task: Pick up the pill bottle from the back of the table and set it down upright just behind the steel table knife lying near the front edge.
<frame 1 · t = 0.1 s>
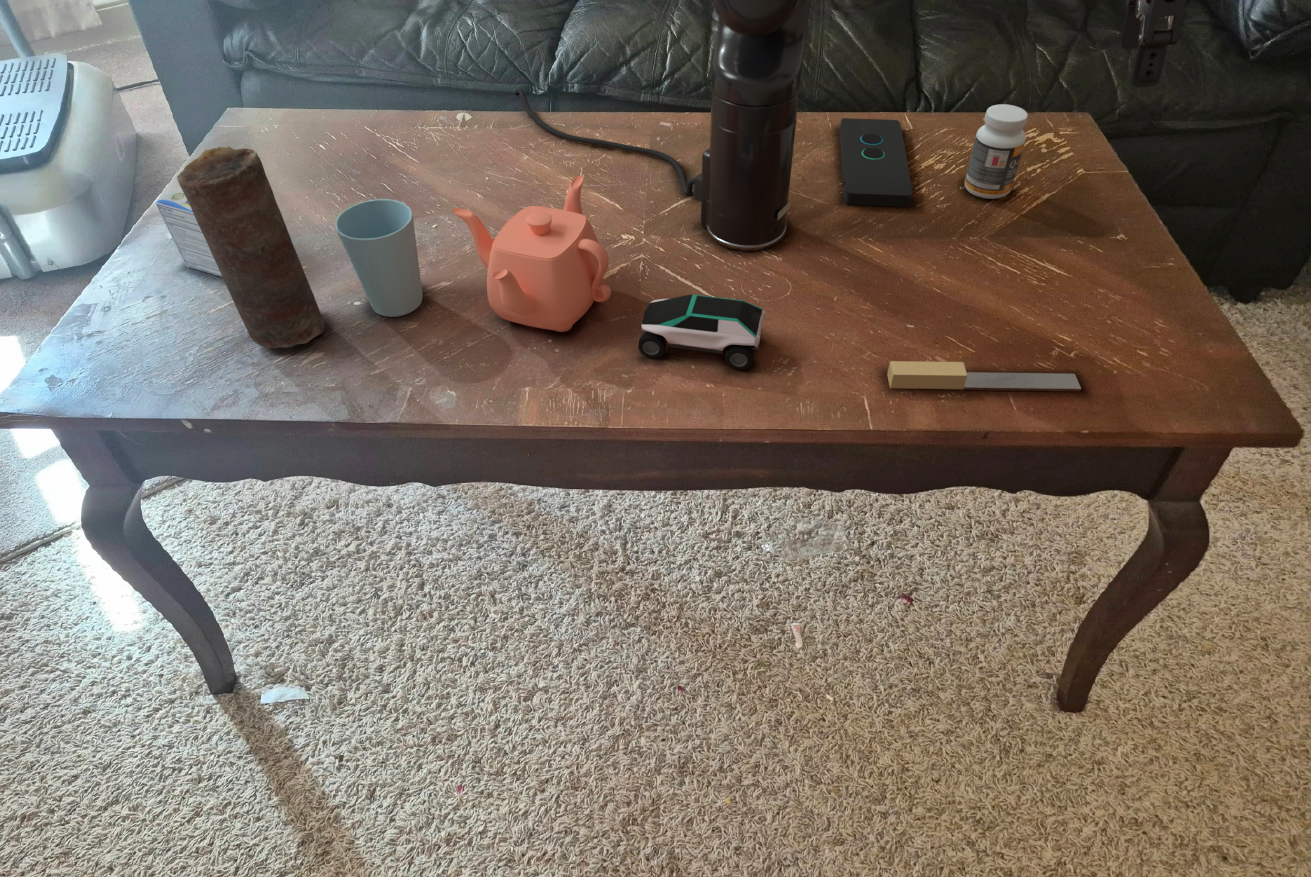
hand: (1137, 65, 82), 22 cm above the table, tool pointing down, fingers open, 8 cm apart
teapot: (539, 305, 95), on the table
pill bottle: (986, 190, 110), on the table
cup: (397, 303, 96), on the table
medicine box: (225, 267, 102), on the table
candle: (289, 336, 92), on the table
toy car: (701, 348, 90), on the table
knife: (982, 382, 85), on the table
smart home device: (872, 166, 115), on the table
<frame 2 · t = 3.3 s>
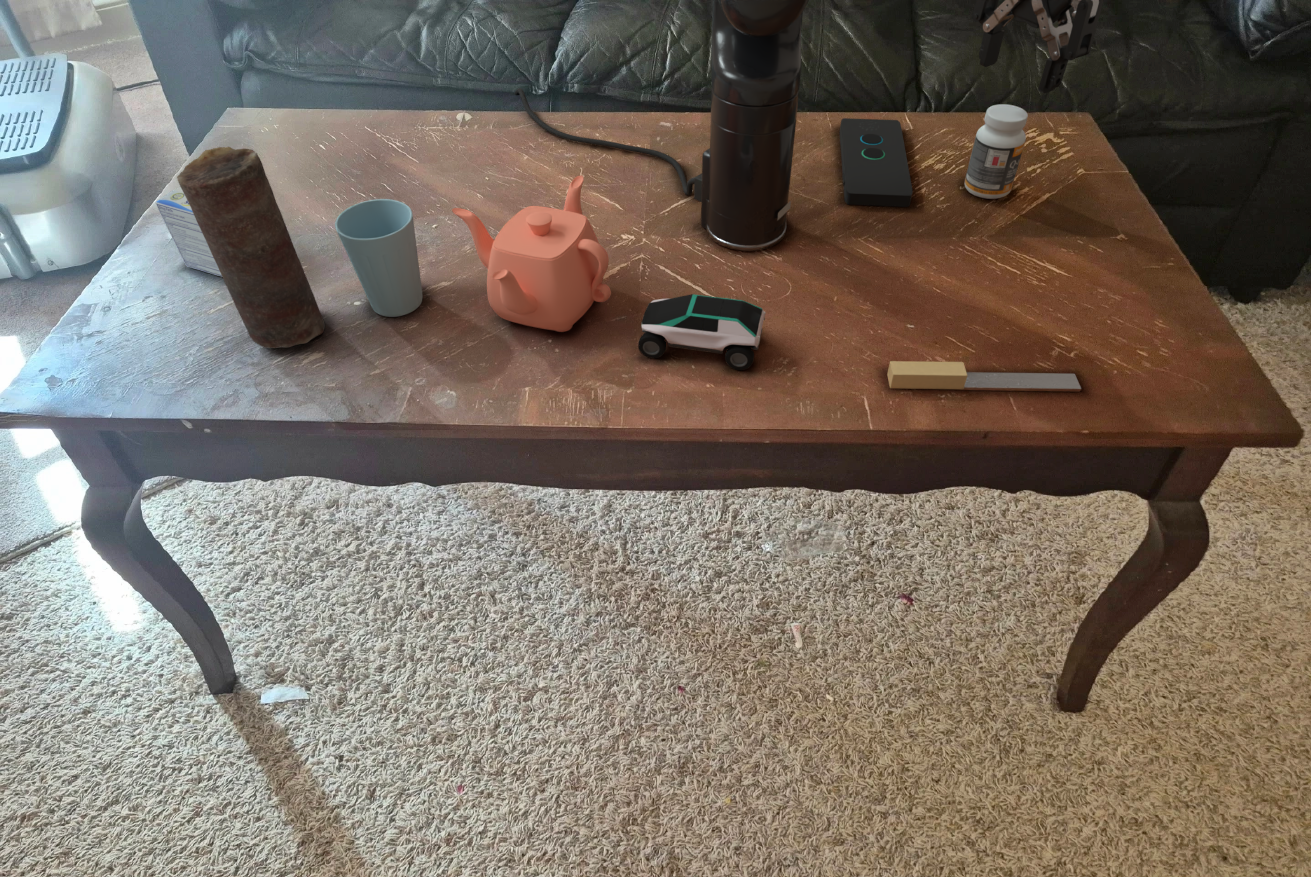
hand: (1016, 77, 100), 14 cm above the table, tool pointing down, fingers open, 8 cm apart
nothing on the table moved.
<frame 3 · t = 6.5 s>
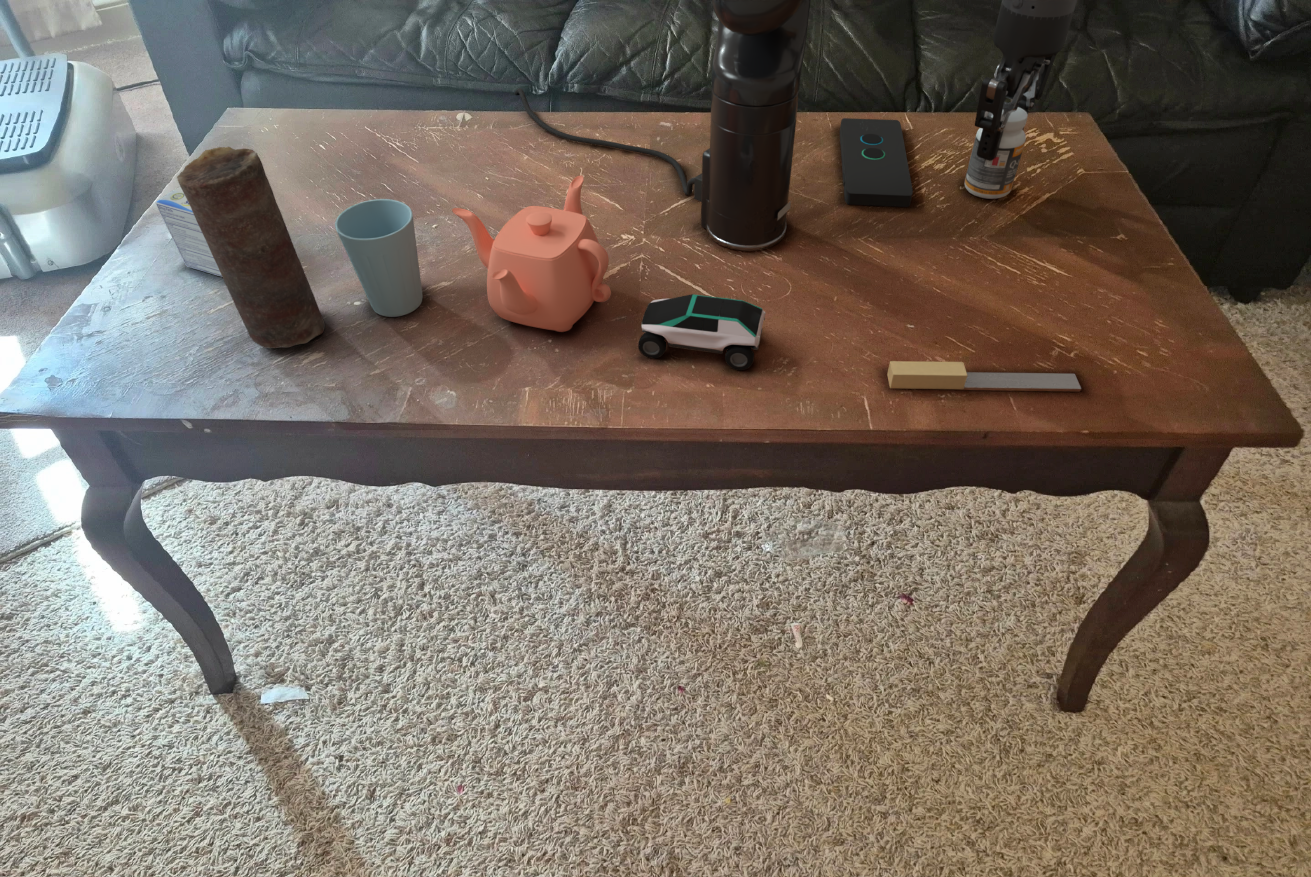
hand: (998, 147, 106), 6 cm above the table, tool pointing down, fingers closed on pill bottle, 5 cm apart
pill bottle: (986, 190, 110), on the table, touching gripper
everything else where it was.
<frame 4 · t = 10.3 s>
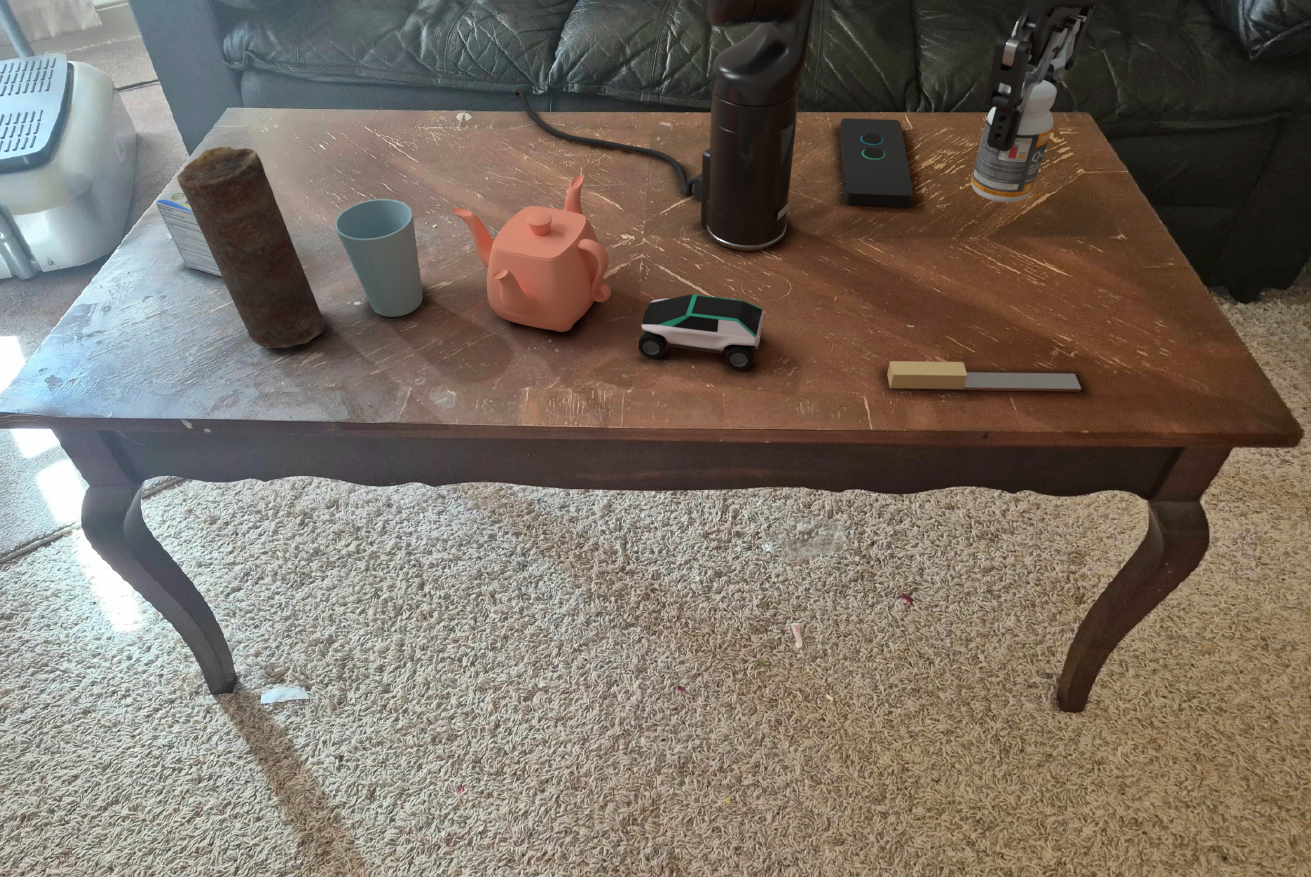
hand: (1015, 134, 80), 19 cm above the table, tool pointing down, fingers closed on pill bottle, 5 cm apart
pill bottle: (999, 191, 84), point 13 cm above the table, touching gripper
everything else where it was.
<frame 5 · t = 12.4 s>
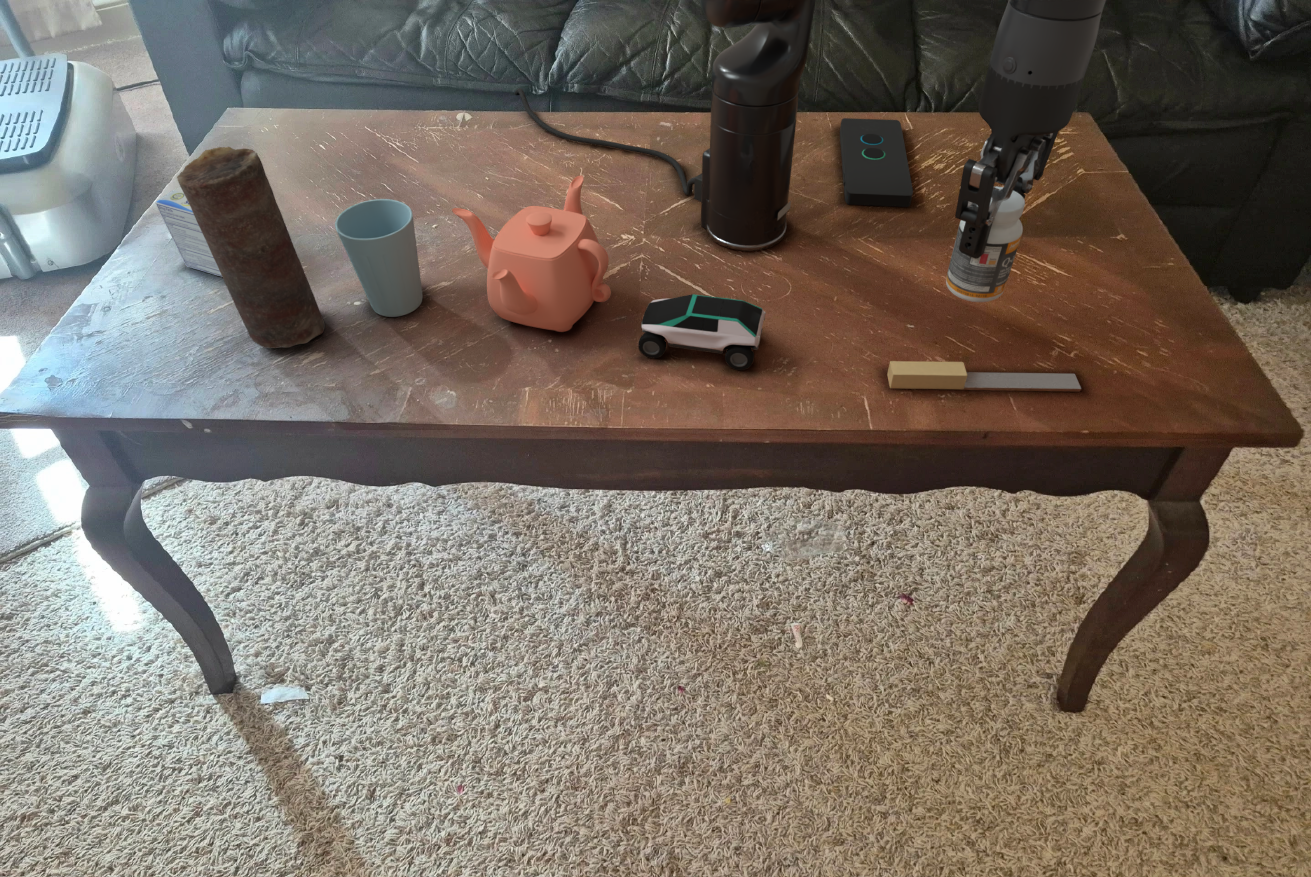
hand: (987, 239, 84), 10 cm above the table, tool pointing down, fingers closed on pill bottle, 5 cm apart
pill bottle: (973, 289, 88), point 5 cm above the table, touching gripper
everything else where it was.
when the fingers open (6 cm above the table, at t = 14.2 s): pill bottle stays where it is, on the table.
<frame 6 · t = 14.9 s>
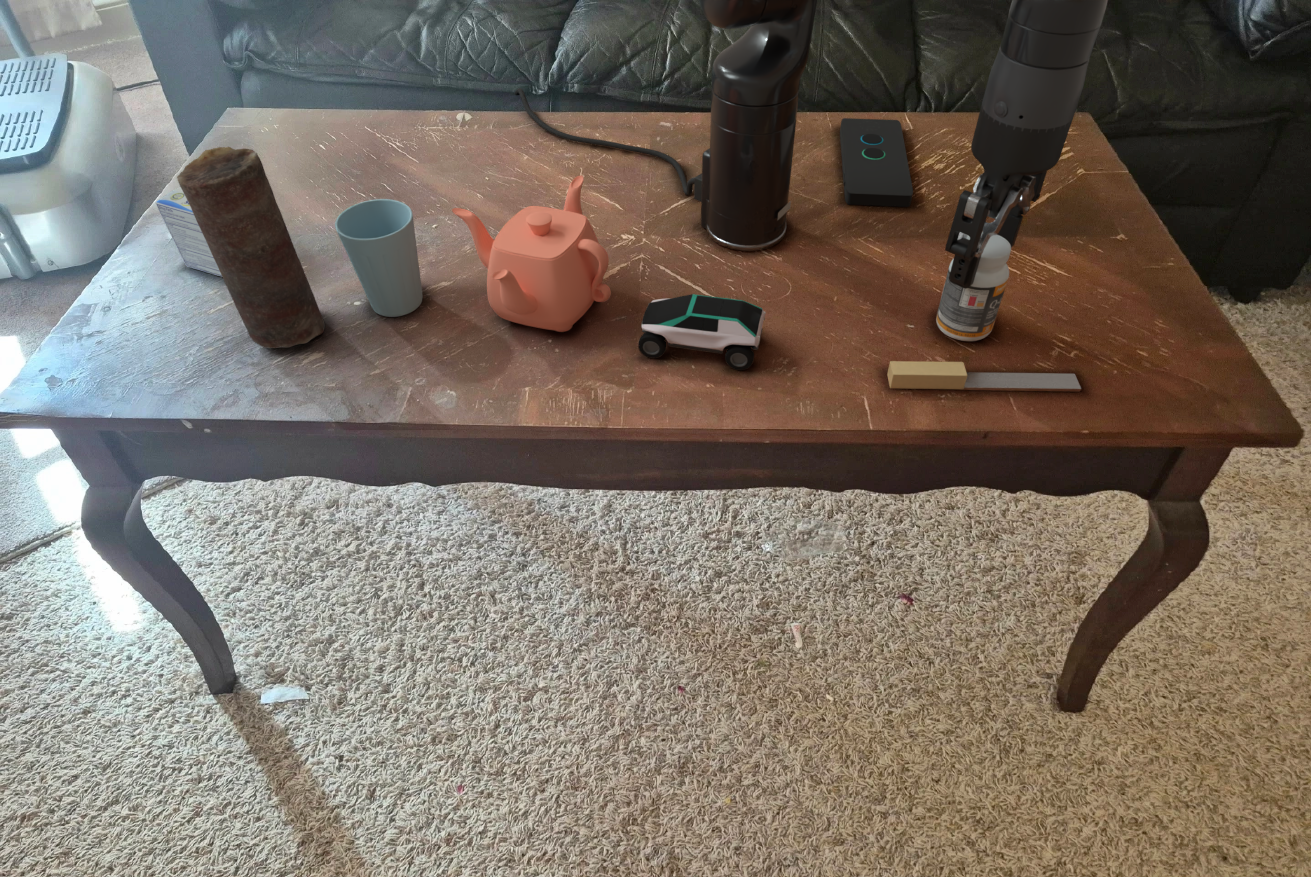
hand: (981, 264, 86), 7 cm above the table, tool pointing down, fingers open, 8 cm apart
pill bottle: (962, 327, 91), on the table
everything else where it was.
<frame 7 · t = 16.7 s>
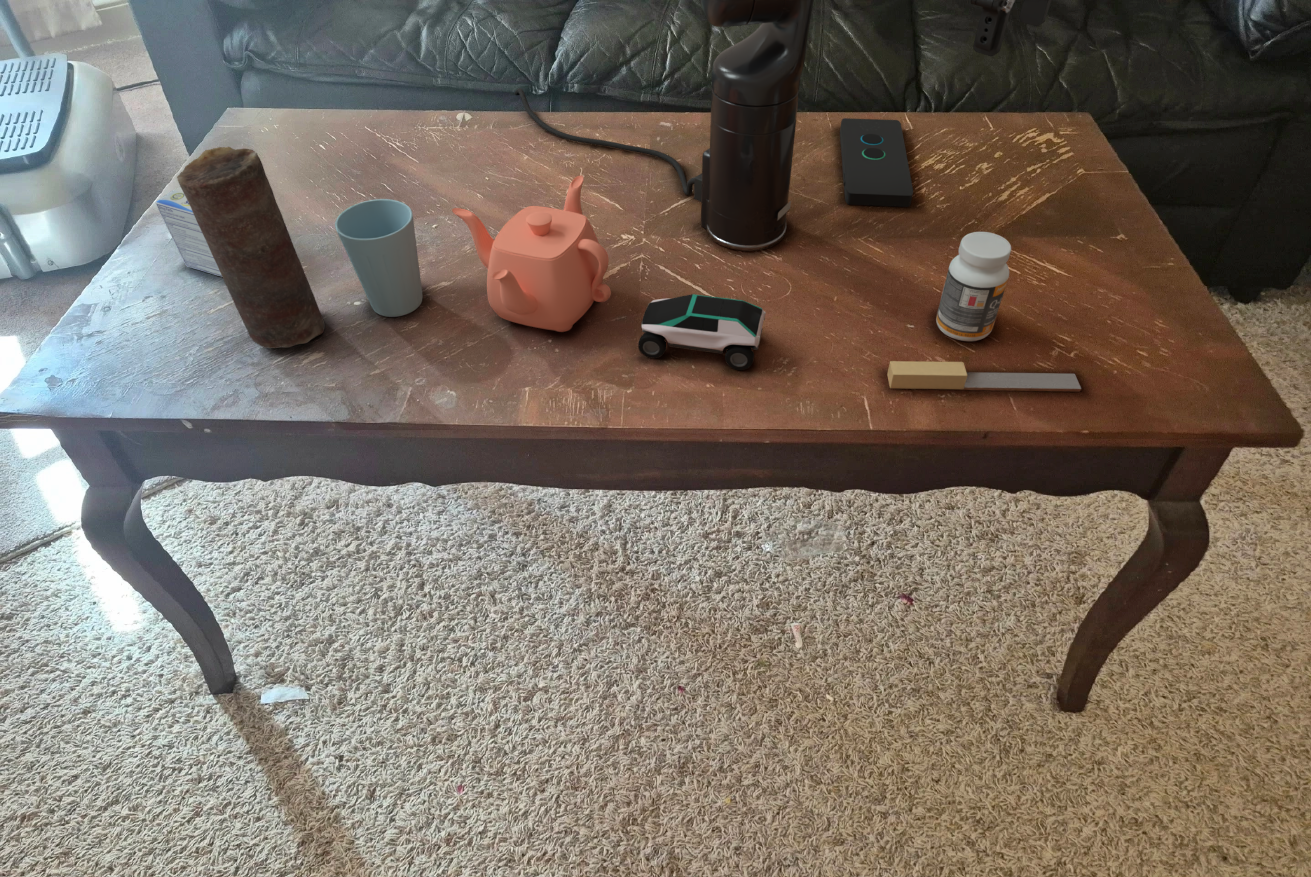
hand: (1008, 37, 79), 26 cm above the table, tool pointing down, fingers open, 8 cm apart
nothing on the table moved.
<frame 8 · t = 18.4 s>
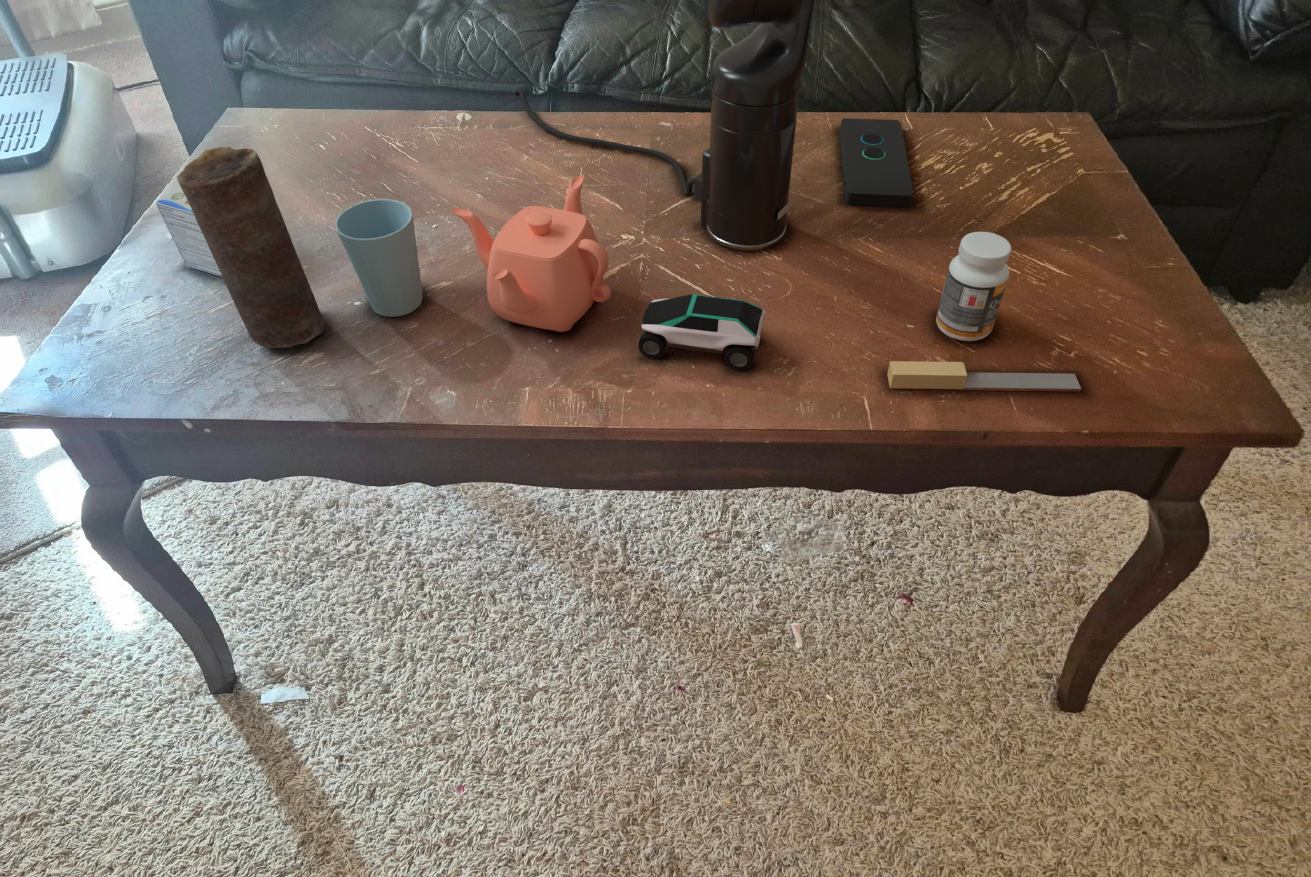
nothing on the table moved.
at the end: pill bottle inside the target area on the table beside the knife (0.5 cm from its centre), on the table; pill bottle tilted 0°; the gripper is holding nothing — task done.
